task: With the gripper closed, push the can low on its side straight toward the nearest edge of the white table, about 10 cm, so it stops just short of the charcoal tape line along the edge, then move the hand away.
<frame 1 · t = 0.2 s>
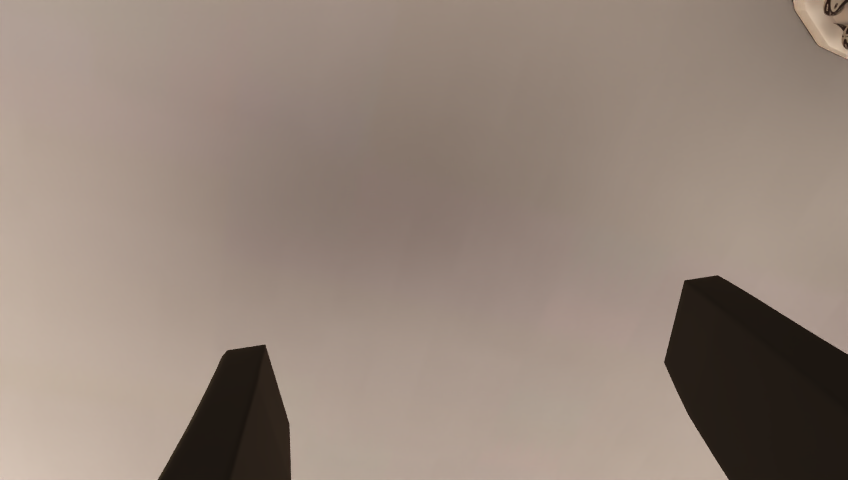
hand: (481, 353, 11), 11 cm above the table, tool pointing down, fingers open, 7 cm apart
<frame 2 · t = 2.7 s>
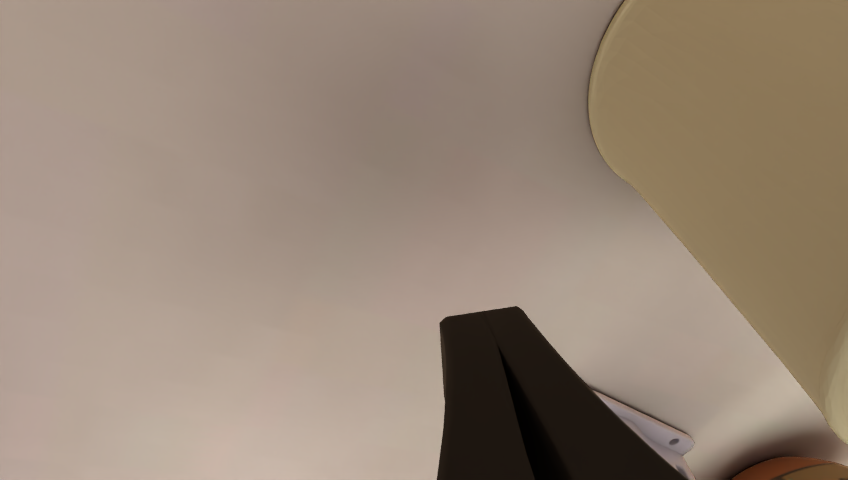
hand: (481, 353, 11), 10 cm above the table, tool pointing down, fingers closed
can: (720, 69, 20), on the table
ceramic vessel: (752, 477, 36), on the table
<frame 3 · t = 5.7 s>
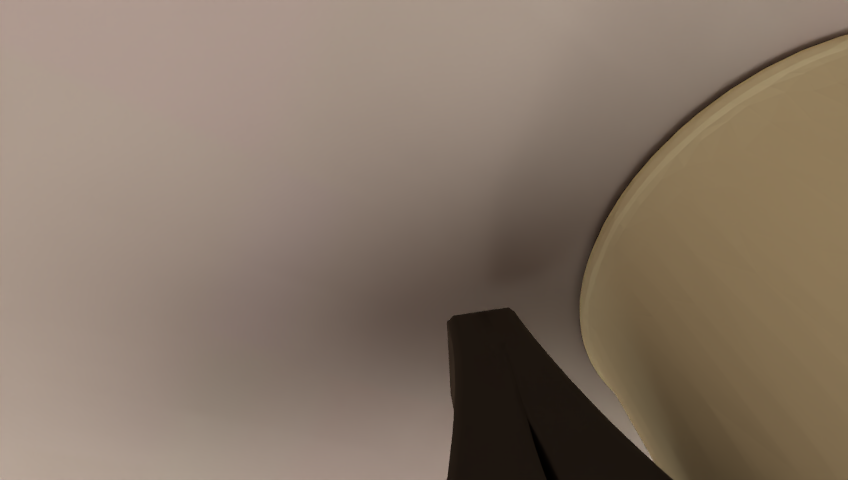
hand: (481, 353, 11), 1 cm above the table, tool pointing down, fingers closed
can: (793, 251, 12), on the table, touching gripper
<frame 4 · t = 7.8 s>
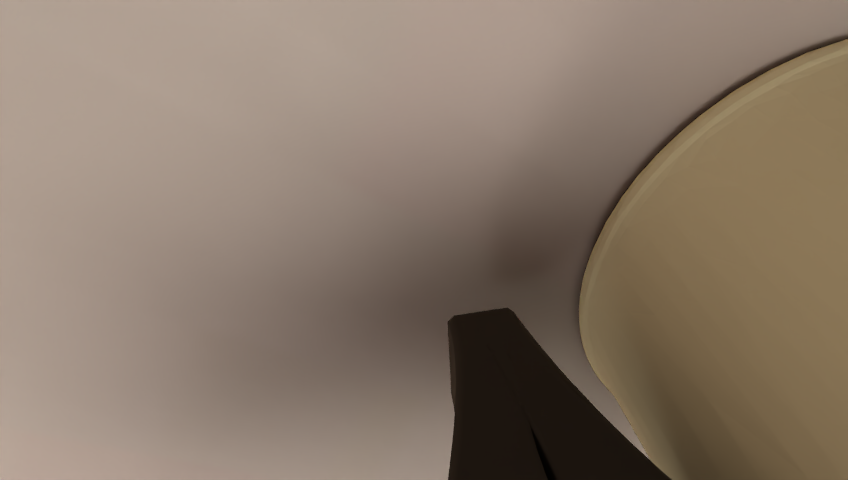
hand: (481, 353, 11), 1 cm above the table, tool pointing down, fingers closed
can: (792, 254, 12), on the table, touching gripper
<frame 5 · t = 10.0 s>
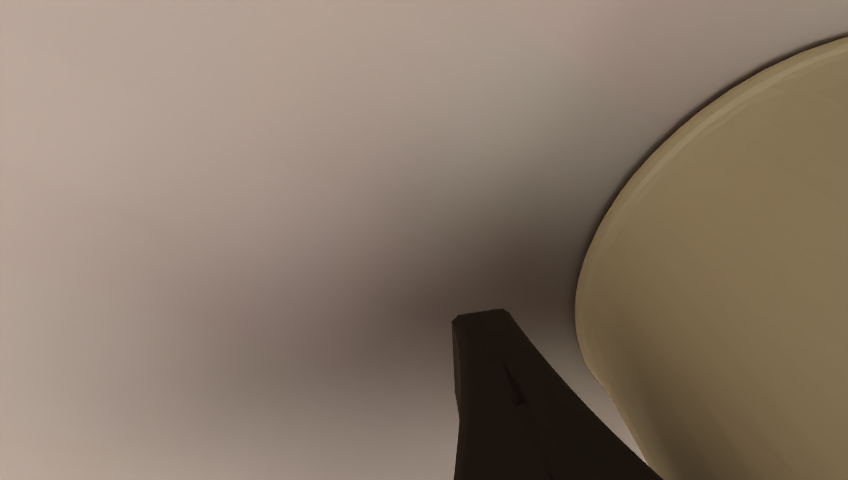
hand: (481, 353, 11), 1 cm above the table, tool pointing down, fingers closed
can: (788, 253, 12), on the table, touching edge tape, gripper
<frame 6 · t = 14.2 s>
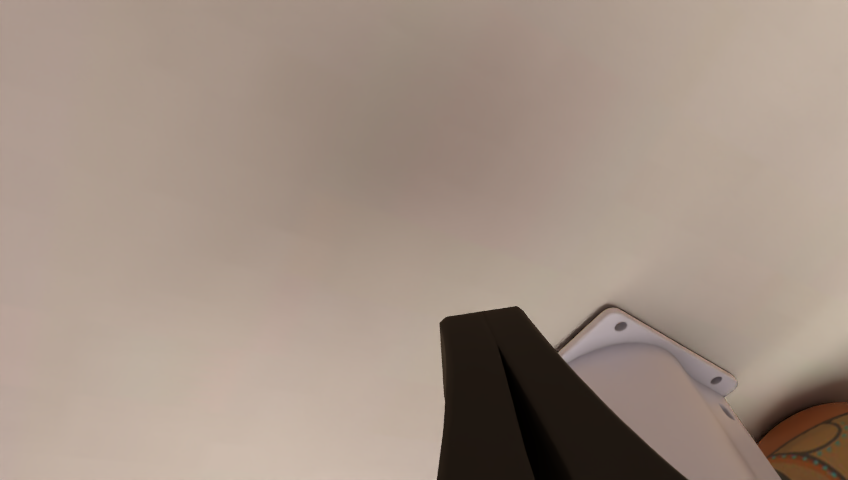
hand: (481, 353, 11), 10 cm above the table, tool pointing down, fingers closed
ceramic vessel: (794, 427, 33), on the table
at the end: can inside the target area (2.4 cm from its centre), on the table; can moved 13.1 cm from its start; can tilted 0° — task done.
